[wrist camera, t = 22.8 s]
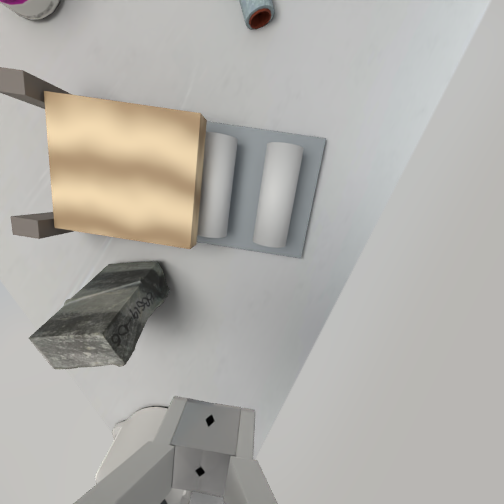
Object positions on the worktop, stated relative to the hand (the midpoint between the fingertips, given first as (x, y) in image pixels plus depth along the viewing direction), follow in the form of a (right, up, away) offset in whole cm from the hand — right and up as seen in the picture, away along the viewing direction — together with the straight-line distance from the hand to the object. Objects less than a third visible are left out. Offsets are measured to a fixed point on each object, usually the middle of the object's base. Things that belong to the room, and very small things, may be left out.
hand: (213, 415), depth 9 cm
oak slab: (-12, +15, +19) cm, 27 cm away
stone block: (-15, +1, +29) cm, 33 cm away
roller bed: (-7, +16, +24) cm, 30 cm away
